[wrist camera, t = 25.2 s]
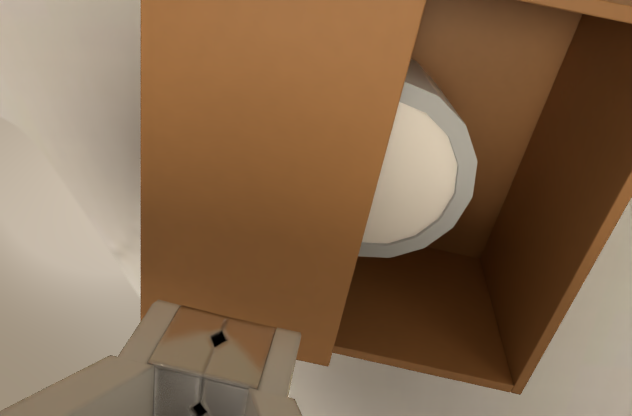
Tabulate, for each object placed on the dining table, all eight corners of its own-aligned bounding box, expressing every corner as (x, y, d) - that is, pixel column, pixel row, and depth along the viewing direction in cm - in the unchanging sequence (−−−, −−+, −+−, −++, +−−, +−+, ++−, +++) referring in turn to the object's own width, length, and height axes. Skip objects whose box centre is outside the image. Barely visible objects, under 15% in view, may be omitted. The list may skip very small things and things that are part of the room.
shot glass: (487, 93, 23) (523, 156, 16) (394, 203, 26) (395, 289, 20) (360, 2, 21) (348, 34, 15) (278, 129, 25) (242, 197, 19)
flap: (329, 359, 19) (328, 367, 19) (144, 318, 20) (140, 325, 19) (433, -32, 12) (434, -30, 12) (146, -90, 13) (140, -91, 12)
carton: (483, 261, 27) (520, 395, 20) (214, 203, 28) (147, 311, 20) (600, -14, 20) (728, 25, 13) (239, -87, 21) (150, -93, 13)
